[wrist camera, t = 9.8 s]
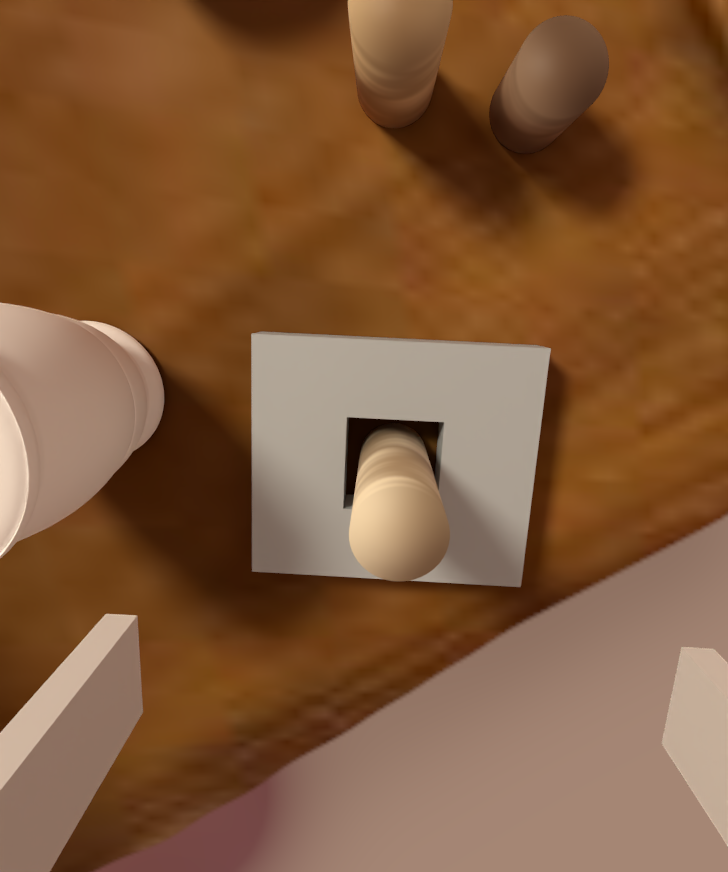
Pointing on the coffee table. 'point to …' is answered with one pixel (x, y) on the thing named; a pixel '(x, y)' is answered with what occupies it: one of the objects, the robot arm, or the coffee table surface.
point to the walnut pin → (549, 84)
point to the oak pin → (397, 56)
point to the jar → (66, 414)
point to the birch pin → (397, 507)
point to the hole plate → (397, 400)
